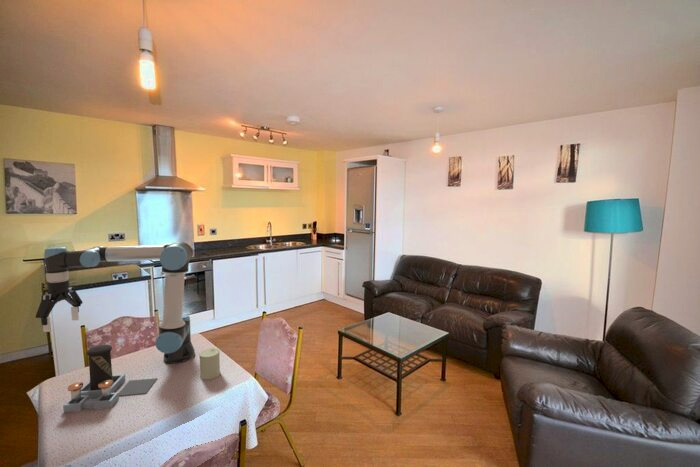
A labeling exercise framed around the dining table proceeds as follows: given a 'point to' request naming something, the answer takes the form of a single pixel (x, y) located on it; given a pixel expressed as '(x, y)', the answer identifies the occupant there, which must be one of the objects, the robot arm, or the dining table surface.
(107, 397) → the plunger
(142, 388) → the pad
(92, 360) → the container
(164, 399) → the dining table surface
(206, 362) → the can
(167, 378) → the dining table surface
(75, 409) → the plunger base
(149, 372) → the dining table surface
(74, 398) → the plunger
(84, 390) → the filter socket
